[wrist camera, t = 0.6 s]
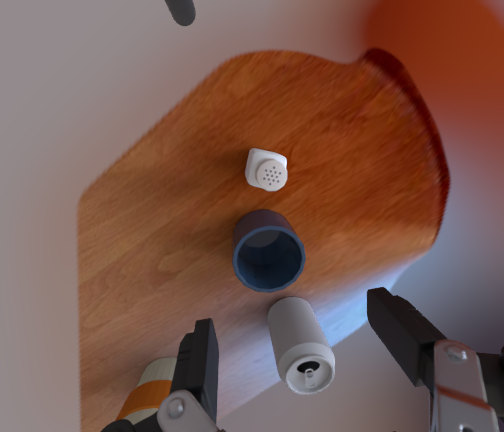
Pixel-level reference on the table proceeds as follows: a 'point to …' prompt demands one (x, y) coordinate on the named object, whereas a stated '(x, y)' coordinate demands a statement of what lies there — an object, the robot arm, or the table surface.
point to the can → (300, 347)
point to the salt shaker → (266, 169)
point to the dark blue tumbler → (266, 251)
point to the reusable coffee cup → (149, 391)
